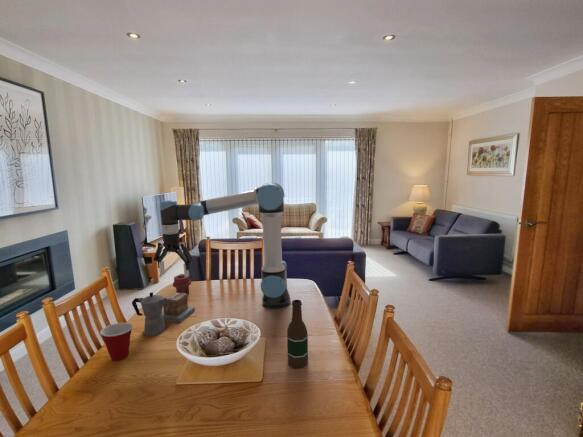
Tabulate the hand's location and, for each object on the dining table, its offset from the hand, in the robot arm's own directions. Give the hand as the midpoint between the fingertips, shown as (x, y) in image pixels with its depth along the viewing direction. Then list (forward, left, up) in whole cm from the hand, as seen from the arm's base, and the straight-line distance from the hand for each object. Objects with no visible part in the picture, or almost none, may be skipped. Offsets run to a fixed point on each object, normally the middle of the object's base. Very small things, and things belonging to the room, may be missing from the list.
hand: (174, 275), depth 141 cm
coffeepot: (+2, +15, -21) cm, 26 cm away
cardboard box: (0, 0, -19) cm, 19 cm away
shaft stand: (+1, 0, -21) cm, 21 cm away
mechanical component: (+12, -22, -21) cm, 32 cm away
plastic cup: (+2, +34, -21) cm, 40 cm away
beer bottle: (-66, +23, -21) cm, 73 cm away
